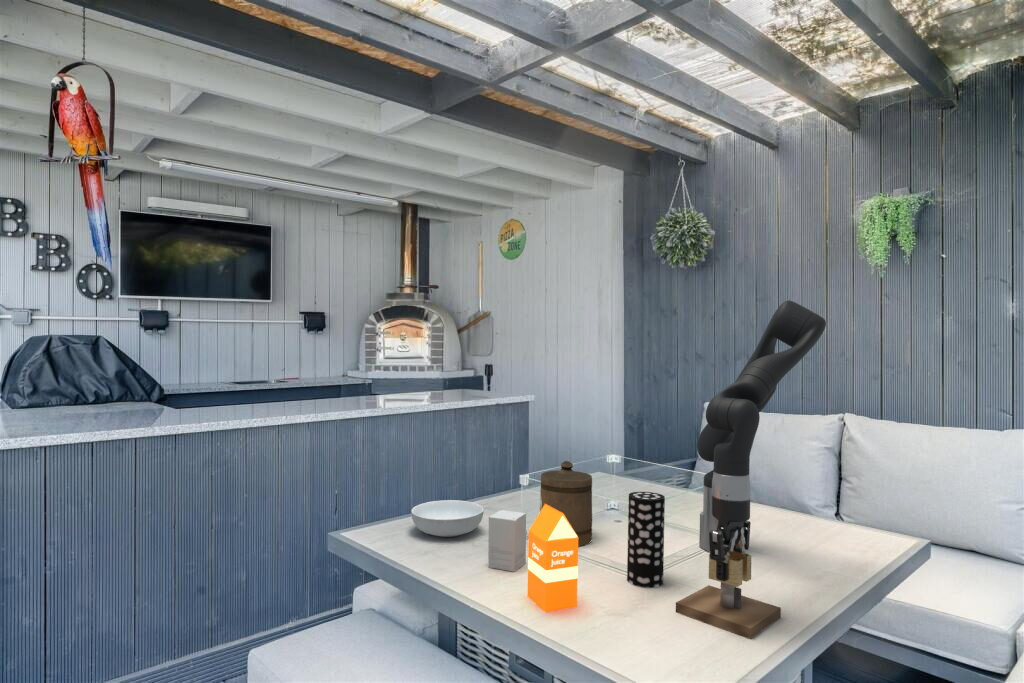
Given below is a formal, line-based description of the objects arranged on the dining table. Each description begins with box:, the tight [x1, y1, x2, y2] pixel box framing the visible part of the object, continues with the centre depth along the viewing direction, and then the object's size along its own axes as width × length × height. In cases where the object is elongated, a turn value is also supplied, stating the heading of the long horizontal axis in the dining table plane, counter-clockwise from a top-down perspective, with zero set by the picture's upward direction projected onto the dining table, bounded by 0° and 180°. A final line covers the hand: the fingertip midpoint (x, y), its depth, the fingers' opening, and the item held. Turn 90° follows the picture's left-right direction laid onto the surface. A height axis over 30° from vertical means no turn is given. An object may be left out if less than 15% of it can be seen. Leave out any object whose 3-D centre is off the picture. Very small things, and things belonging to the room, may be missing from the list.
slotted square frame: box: [708, 550, 752, 588], centre depth 130 cm, size 6×6×5 cm
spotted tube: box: [626, 491, 666, 589], centre depth 147 cm, size 8×8×20 cm
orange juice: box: [527, 504, 579, 613], centre depth 135 cm, size 8×9×20 cm
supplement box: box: [487, 509, 527, 573], centre depth 156 cm, size 7×7×13 cm
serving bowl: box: [410, 499, 485, 538], centre depth 182 cm, size 21×21×7 cm
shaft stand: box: [675, 582, 782, 640], centre depth 130 cm, size 16×14×7 cm
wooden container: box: [539, 460, 593, 548], centre depth 178 cm, size 15×15×22 cm
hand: (729, 575), depth 130 cm, fingers closed on slotted square frame, 6 cm apart
